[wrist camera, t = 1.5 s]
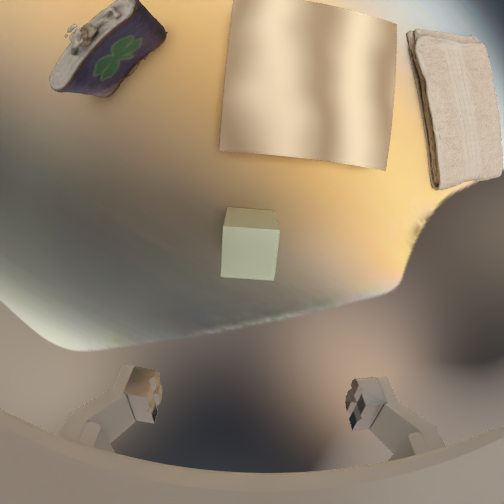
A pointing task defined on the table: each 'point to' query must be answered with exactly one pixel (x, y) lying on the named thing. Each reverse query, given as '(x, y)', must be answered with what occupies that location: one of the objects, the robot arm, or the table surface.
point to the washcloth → (456, 107)
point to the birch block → (309, 82)
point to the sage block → (249, 244)
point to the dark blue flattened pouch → (107, 49)
